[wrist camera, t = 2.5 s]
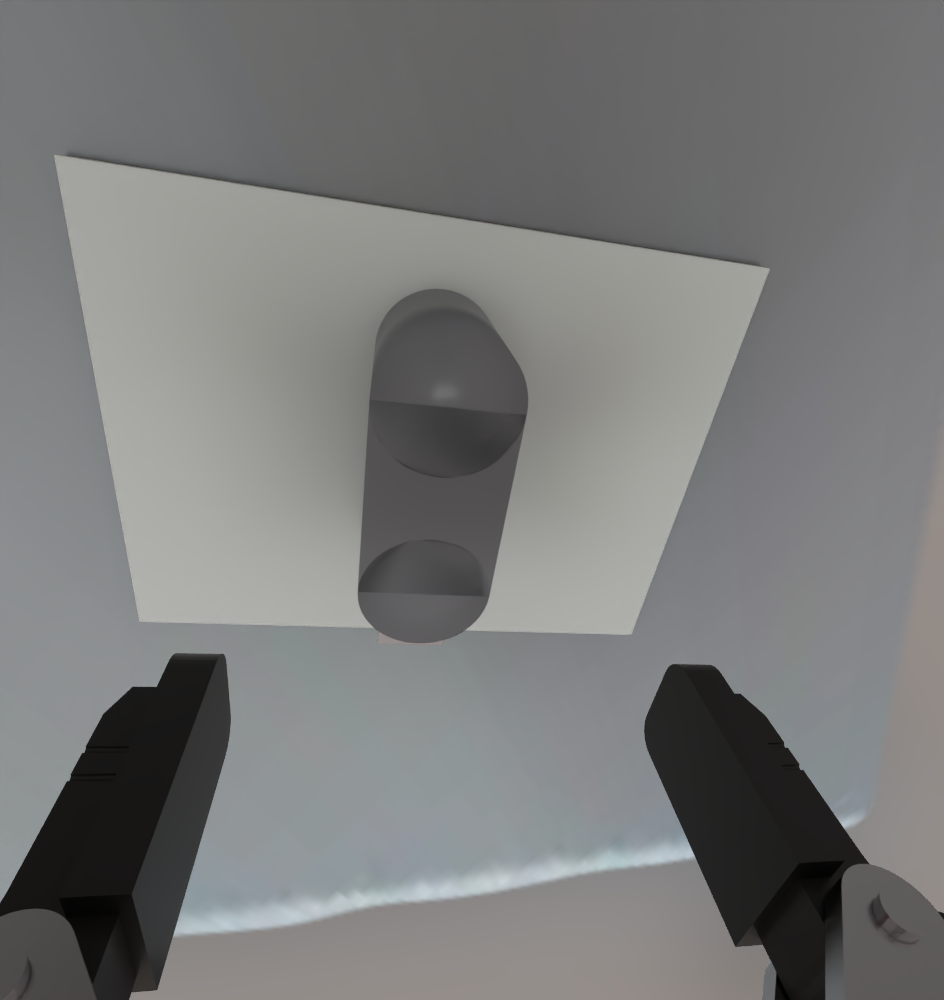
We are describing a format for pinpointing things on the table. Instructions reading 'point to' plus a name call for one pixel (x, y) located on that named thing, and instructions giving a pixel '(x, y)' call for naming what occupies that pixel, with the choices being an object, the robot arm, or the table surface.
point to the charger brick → (436, 467)
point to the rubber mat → (347, 382)
